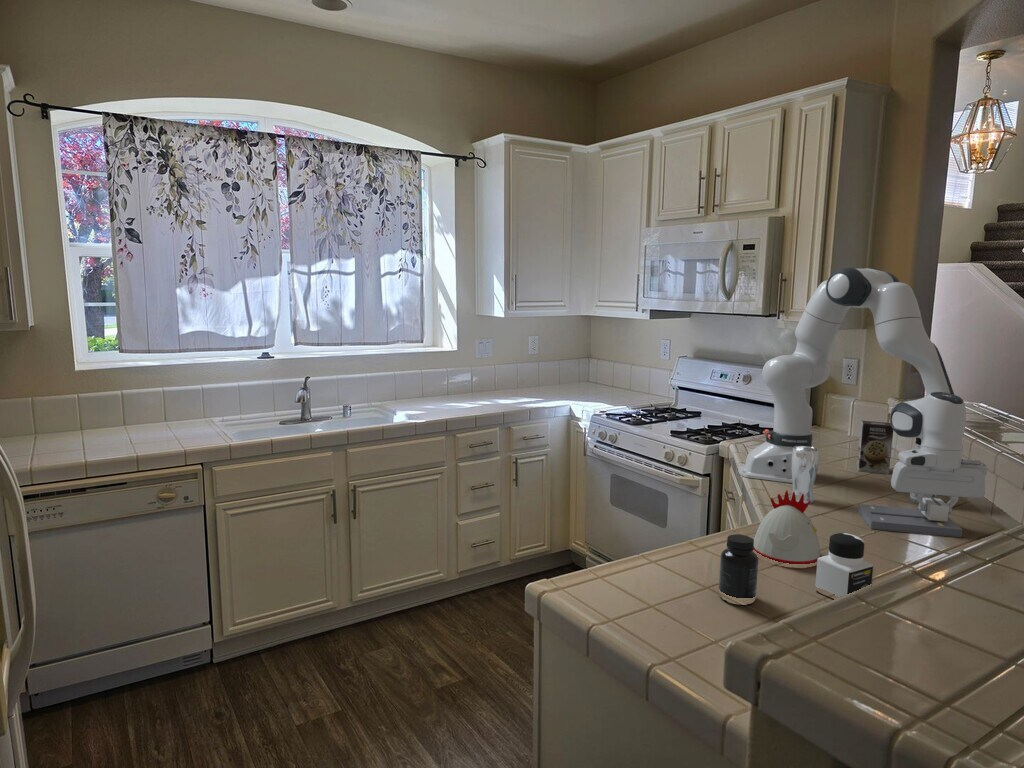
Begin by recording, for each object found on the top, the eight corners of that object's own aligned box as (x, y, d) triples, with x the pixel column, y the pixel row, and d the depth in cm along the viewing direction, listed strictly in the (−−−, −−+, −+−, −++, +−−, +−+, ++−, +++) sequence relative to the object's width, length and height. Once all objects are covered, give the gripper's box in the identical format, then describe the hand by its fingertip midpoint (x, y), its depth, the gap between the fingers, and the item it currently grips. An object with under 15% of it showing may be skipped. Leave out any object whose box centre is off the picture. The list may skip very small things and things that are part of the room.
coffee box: (858, 471, 220) (862, 423, 218) (856, 466, 226) (860, 419, 224) (889, 474, 217) (894, 425, 214) (886, 469, 223) (891, 422, 220)
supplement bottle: (747, 590, 132) (751, 532, 130) (761, 606, 125) (765, 545, 123) (713, 590, 132) (716, 532, 130) (725, 606, 125) (729, 545, 123)
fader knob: (929, 520, 167) (931, 504, 166) (921, 512, 172) (922, 496, 172) (947, 521, 166) (949, 505, 165) (938, 513, 171) (940, 498, 171)
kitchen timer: (814, 574, 140) (819, 505, 138) (746, 559, 147) (750, 493, 145) (823, 552, 152) (828, 488, 149) (760, 539, 159) (764, 478, 157)
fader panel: (870, 529, 167) (871, 520, 166) (857, 511, 180) (857, 503, 180) (961, 537, 162) (962, 529, 161) (940, 518, 175) (941, 510, 175)
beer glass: (815, 498, 191) (819, 447, 189) (815, 505, 184) (819, 452, 182) (789, 495, 194) (792, 444, 191) (788, 501, 187) (791, 449, 185)
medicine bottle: (846, 607, 125) (852, 546, 124) (814, 591, 132) (818, 533, 130) (871, 599, 129) (876, 539, 127) (838, 584, 135) (842, 527, 133)
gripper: (982, 458, 167) (976, 511, 169) (891, 452, 172) (886, 503, 174) (993, 464, 161) (986, 519, 163) (899, 457, 166) (894, 511, 168)
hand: (934, 511), depth 169 cm, fingers closed on fader knob, 4 cm apart
